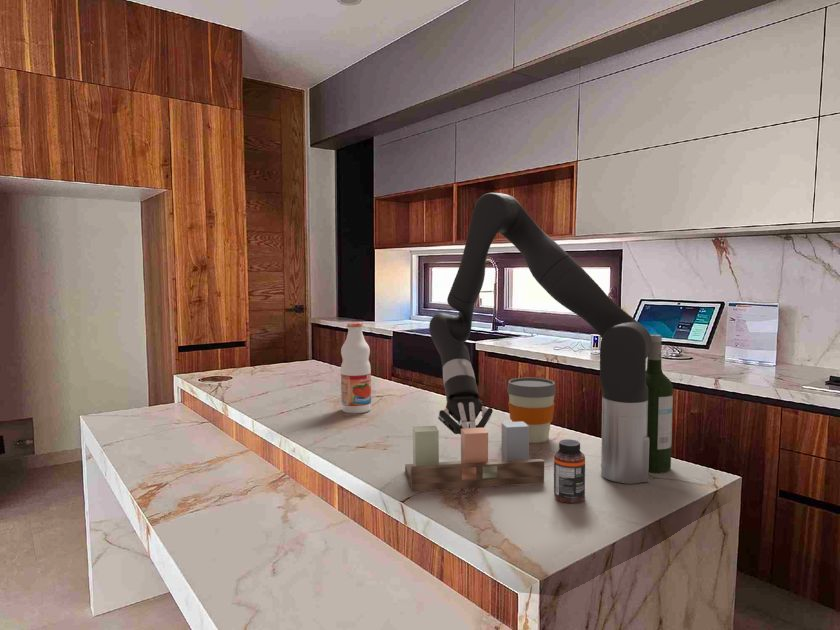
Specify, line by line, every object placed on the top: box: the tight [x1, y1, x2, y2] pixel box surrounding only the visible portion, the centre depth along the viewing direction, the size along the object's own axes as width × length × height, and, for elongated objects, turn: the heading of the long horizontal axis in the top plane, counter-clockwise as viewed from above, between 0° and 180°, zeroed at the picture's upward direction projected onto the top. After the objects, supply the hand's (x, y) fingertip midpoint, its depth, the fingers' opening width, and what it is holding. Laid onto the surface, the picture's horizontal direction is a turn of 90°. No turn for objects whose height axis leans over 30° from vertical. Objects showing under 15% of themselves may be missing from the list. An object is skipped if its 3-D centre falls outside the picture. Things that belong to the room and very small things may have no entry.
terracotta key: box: [460, 427, 489, 464], centre depth 123 cm, size 5×4×9 cm
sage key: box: [412, 425, 440, 466], centre depth 124 cm, size 5×4×9 cm
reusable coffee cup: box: [507, 377, 557, 444], centre depth 152 cm, size 13×13×15 cm
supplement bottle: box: [553, 438, 586, 504], centre depth 112 cm, size 6×6×11 cm
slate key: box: [500, 421, 530, 461], centre depth 127 cm, size 5×4×9 cm
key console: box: [404, 458, 545, 492], centre depth 124 cm, size 28×12×5 cm, turn 98°
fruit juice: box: [340, 321, 372, 414], centre depth 182 cm, size 9×9×28 cm
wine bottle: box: [646, 334, 674, 474], centre depth 128 cm, size 8×8×30 cm
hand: (471, 449), depth 125 cm, fingers closed
